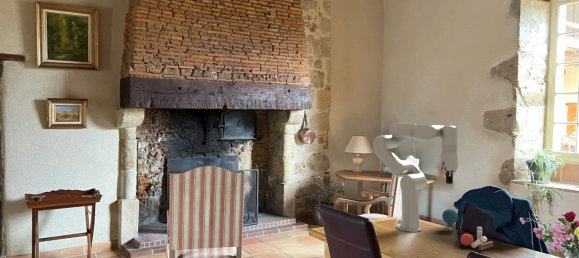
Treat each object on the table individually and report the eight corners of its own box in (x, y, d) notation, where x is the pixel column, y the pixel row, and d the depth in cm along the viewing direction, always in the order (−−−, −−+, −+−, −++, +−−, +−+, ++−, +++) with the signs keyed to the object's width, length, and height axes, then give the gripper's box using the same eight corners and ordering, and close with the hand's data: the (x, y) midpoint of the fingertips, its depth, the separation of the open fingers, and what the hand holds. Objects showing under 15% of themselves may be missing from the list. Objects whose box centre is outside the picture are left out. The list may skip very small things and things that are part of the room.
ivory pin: (471, 247, 217) (483, 240, 211) (470, 242, 219) (482, 235, 213) (475, 248, 218) (487, 241, 212) (474, 243, 220) (486, 236, 214)
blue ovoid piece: (459, 232, 249) (459, 210, 249) (443, 231, 250) (443, 210, 250) (456, 228, 257) (456, 207, 257) (441, 228, 259) (441, 207, 258)
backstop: (478, 250, 214) (478, 245, 214) (491, 246, 221) (491, 241, 221) (481, 250, 213) (481, 245, 213) (493, 246, 220) (493, 241, 220)
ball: (469, 237, 217) (468, 249, 218) (476, 234, 220) (475, 245, 222) (458, 233, 222) (457, 244, 223) (465, 230, 225) (465, 241, 226)
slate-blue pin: (476, 244, 225) (476, 227, 225) (478, 243, 226) (478, 226, 226) (480, 245, 223) (480, 228, 223) (483, 244, 224) (483, 227, 224)
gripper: (451, 148, 245) (451, 181, 245) (434, 149, 236) (434, 184, 236) (464, 148, 239) (463, 183, 239) (447, 150, 230) (447, 185, 230)
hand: (449, 183), depth 238 cm, fingers closed
